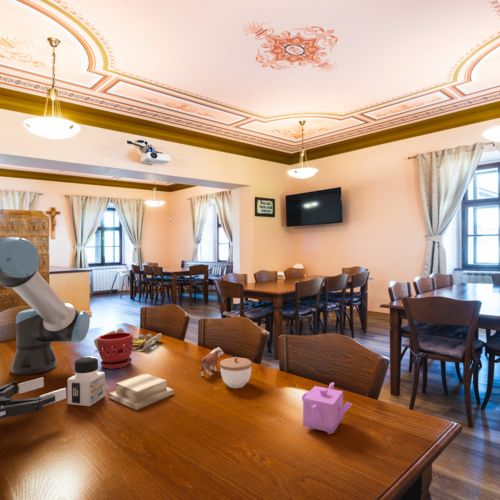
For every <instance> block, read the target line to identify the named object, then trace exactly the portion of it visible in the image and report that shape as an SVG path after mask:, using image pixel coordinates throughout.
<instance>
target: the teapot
mask: <svg viewBox="0 0 500 500" xmlns="http://www.w3.org/2000/svg"><path fill="white" fill-rule="evenodd" d="M334 386H335V382H333V381H332V382H330V383H329V386H328V388H327V387H323V386H318V385H317V386H316V385H314V386H313V388H311V390H309V391H305V392H304V393H303V394H302V396H301V400H302V426H303V427H306V428H308V427H309V428H310V429H315V430H318V431H323V432H325V433H326V432H327V433H334V434H335V432H336V430H337V429H338V427H339V425H340V423H341V422H342V420H343V418H344V414H345V413H346V412H347V411H348V410H349V409H350V407H352V405H353V404H352V403H351V402H349V401H347V402H346V403H344V391H343V390H337V389H334ZM310 429H309V430H310ZM327 433H326V434H327Z"/></svg>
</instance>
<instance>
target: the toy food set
mask: <svg viewBox="0 0 500 500" xmlns="http://www.w3.org/2000/svg"><path fill="white" fill-rule="evenodd" d="M119 332H125V330H124V328H123V327H119V328H117V330H111V331H109V332H106V333H104V334H103V335H105V334H110V333H119ZM161 337H162V333H161V332H160V333H158V334H156V335H155V336H153V335H152V334H151V333H149V334H147V335H146V338H145V336H144V335H143V334H140V335H138V338H135V337H133V348H132V352H135V353H141V352H143V351H145V350H146V349H148V348H149V347H151V346H153V345H154V344H156V343H157V342H159V340H160V339H161ZM93 342H94V343H93V344H94V345H95V348H96V350H98V337H96V338H94V339H93ZM123 346H125V345H123ZM112 348H113V347H112ZM102 350H103V347H102ZM132 352H131V353H132Z"/></svg>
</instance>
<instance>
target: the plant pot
mask: <svg viewBox="0 0 500 500" xmlns="http://www.w3.org/2000/svg"><path fill="white" fill-rule="evenodd" d="M104 334H105V335H104ZM104 334H103V335H100V336H98V337H97V338H98V349H97V350H98V353H99V357H100V358H101V361H100V366H101V367H102V368H104V369H111V370H113V369H114V370H115V369H121V368H125V367H127V366H128V365H130V364H131V362H132V360H133V359H132V357H131V354H132V348H133V338H134V335H133V333H132V332H125V331H124V332H119V333H110V334H107V333H104ZM123 345H125V346H123ZM102 347H103V350H102ZM112 347H113V348H112Z"/></svg>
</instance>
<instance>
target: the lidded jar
mask: <svg viewBox="0 0 500 500" xmlns="http://www.w3.org/2000/svg"><path fill="white" fill-rule="evenodd" d="M252 364H253V362H252V361H251V360H250V359H249V358H244V357H239V356H238V357H237V356H234V357H228V358H225V359H222V360H221V361H220V362H219V367H220V375H221V378H222V381H223V382H224V383H225V385H227V387H228V388H230V389H239V388H240V389H241V388H244V387H245V385H246V384H247V383H248V382H249V380H250V378H251V374H252Z"/></svg>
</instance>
